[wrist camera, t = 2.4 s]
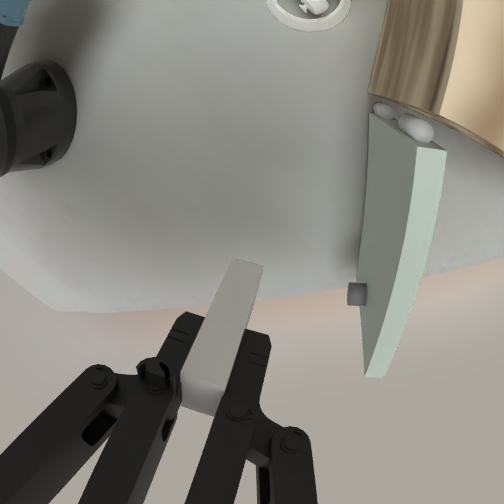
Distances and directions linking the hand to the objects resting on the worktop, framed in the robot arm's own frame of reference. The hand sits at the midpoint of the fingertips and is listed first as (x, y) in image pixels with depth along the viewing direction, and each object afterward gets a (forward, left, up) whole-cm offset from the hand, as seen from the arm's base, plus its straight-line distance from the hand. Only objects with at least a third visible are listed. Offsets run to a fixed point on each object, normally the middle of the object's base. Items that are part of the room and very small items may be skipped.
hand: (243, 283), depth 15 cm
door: (+8, +1, -15) cm, 17 cm away
